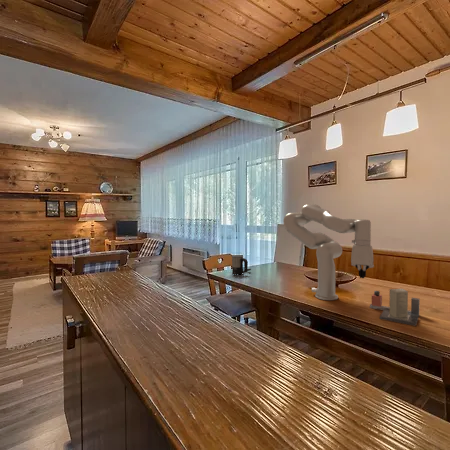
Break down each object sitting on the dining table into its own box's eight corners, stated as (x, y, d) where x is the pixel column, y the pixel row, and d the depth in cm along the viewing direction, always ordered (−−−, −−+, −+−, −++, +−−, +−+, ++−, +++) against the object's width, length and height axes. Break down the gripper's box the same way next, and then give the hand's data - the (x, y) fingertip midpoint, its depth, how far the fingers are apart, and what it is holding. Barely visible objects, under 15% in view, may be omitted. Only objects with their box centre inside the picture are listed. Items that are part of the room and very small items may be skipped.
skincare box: (401, 313, 133) (402, 288, 133) (408, 317, 129) (408, 291, 128) (388, 314, 133) (389, 288, 133) (394, 317, 129) (395, 291, 128)
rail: (369, 307, 146) (369, 292, 146) (370, 306, 148) (371, 291, 148) (418, 317, 133) (419, 300, 132) (419, 315, 135) (419, 298, 135)
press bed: (379, 318, 132) (379, 315, 131) (383, 312, 139) (383, 309, 139) (415, 326, 123) (415, 322, 123) (418, 318, 130) (418, 316, 130)
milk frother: (230, 275, 226) (230, 256, 225) (235, 271, 241) (235, 253, 240) (247, 276, 222) (247, 257, 221) (252, 271, 237) (252, 254, 236)
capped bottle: (371, 305, 145) (371, 291, 145) (373, 303, 148) (373, 289, 148) (380, 306, 142) (380, 293, 142) (381, 304, 146) (382, 291, 145)
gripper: (345, 242, 150) (345, 277, 151) (376, 244, 140) (376, 281, 141) (349, 241, 156) (349, 274, 157) (380, 243, 146) (379, 278, 147)
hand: (362, 277), depth 149 cm, fingers closed
